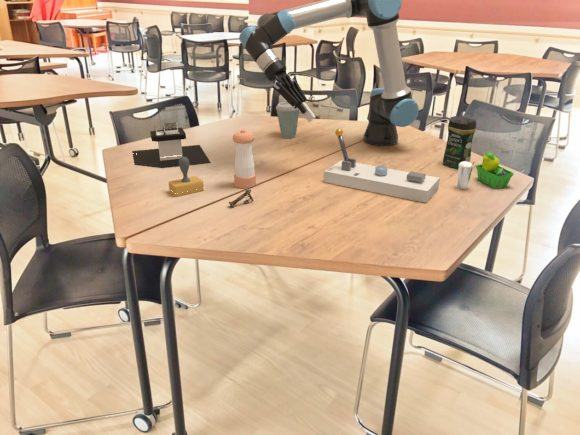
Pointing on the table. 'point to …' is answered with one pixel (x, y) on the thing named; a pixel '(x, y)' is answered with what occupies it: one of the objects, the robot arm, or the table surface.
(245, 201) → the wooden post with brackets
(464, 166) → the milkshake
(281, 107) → the disposable coffee cup
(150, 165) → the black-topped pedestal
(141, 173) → the table surface
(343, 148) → the lever
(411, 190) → the panel
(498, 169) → the fruit basket
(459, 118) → the coffee jar
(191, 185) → the rubber stamp
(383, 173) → the button
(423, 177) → the rocker
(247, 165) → the salt shaker
